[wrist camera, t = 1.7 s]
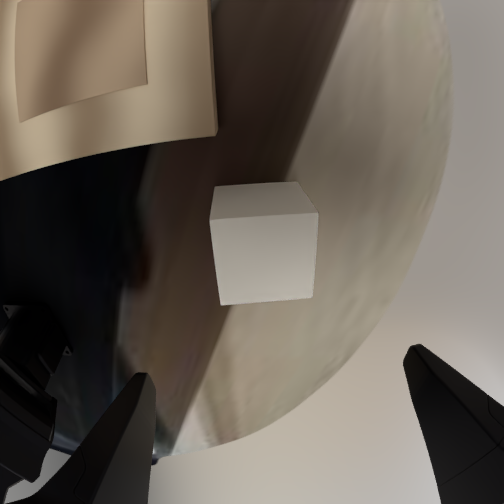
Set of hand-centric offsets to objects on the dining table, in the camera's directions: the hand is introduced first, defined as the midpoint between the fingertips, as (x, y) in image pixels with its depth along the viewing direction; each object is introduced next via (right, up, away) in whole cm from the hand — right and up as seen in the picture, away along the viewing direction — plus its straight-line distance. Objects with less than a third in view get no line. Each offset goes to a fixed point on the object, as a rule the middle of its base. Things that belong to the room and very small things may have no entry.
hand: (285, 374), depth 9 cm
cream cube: (-1, +6, +10) cm, 12 cm away
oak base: (-10, +16, +3) cm, 20 cm away
